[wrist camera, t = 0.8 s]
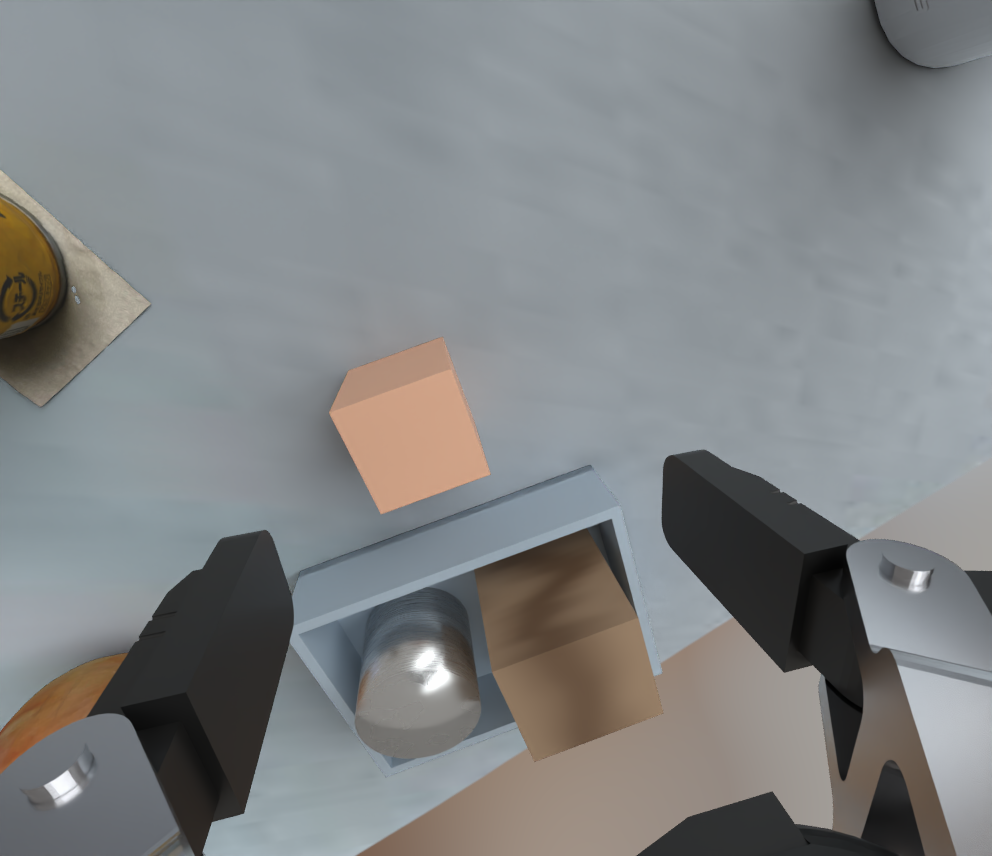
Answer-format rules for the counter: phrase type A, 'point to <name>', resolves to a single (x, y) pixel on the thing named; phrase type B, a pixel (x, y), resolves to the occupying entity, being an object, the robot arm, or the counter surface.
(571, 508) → the tote
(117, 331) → the condiment
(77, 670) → the onion
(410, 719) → the grey tin
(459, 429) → the peach rectangular block
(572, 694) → the walnut block
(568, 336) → the counter surface
